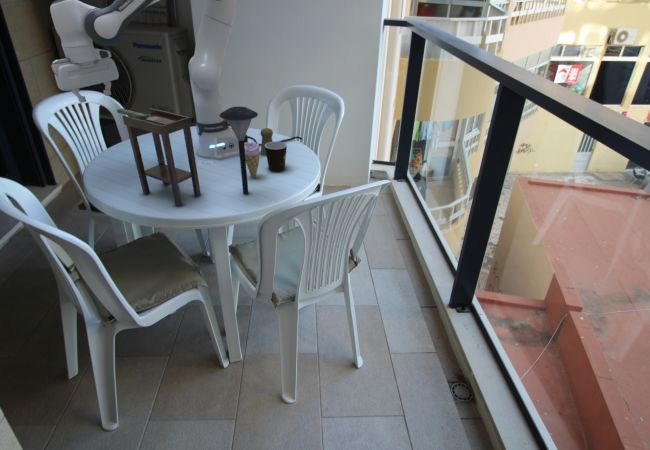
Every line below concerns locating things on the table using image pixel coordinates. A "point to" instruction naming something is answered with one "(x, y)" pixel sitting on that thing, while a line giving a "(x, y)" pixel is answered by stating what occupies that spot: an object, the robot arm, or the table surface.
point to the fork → (145, 117)
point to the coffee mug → (276, 155)
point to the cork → (265, 139)
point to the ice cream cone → (252, 157)
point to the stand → (162, 170)
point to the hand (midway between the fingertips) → (96, 98)
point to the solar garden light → (240, 133)
